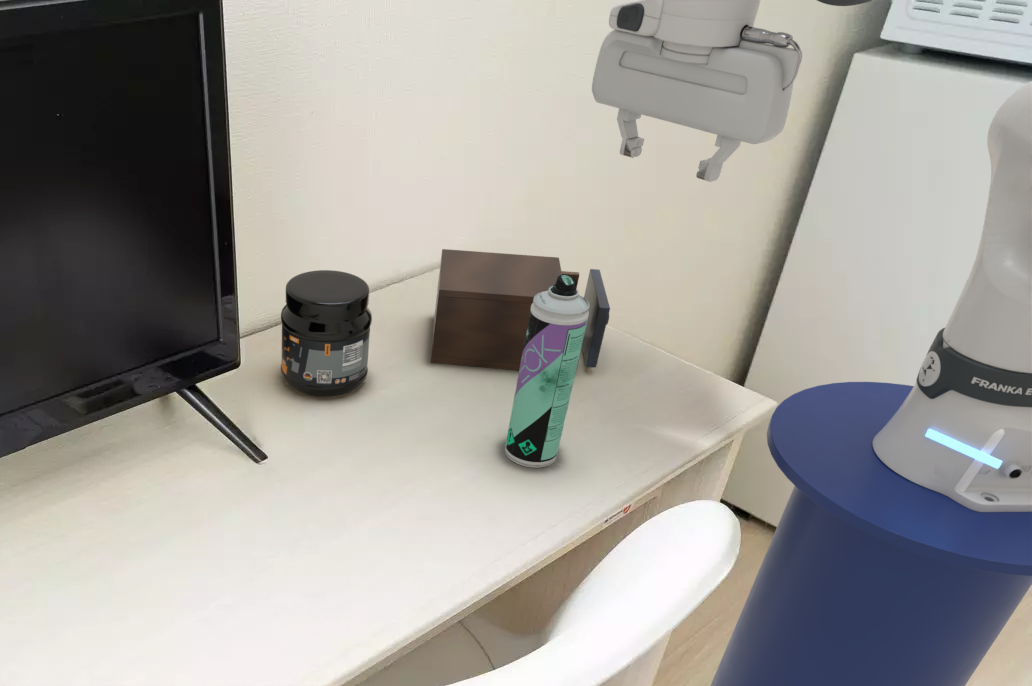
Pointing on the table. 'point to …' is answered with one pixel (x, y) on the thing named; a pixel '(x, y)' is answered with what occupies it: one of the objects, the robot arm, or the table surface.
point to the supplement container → (325, 333)
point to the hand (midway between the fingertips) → (667, 167)
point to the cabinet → (487, 306)
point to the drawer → (593, 315)
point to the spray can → (546, 374)
